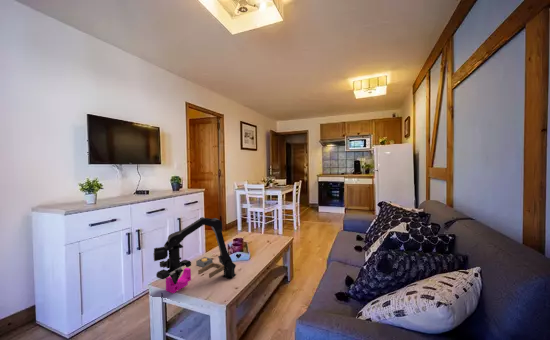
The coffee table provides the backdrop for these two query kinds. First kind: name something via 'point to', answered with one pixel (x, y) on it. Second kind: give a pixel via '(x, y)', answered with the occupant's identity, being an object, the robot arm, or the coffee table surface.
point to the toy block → (180, 283)
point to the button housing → (203, 264)
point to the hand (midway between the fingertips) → (175, 283)
